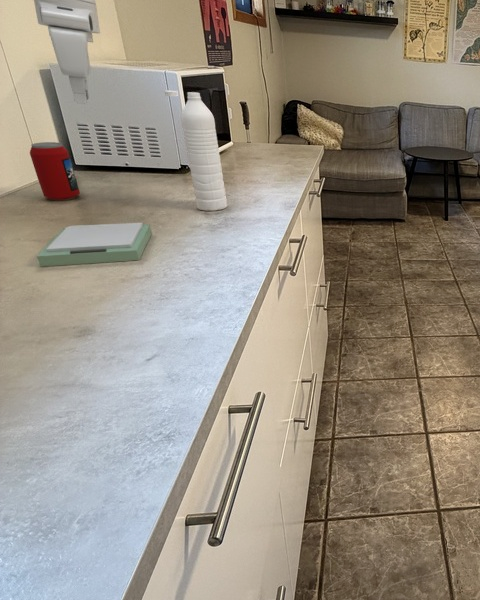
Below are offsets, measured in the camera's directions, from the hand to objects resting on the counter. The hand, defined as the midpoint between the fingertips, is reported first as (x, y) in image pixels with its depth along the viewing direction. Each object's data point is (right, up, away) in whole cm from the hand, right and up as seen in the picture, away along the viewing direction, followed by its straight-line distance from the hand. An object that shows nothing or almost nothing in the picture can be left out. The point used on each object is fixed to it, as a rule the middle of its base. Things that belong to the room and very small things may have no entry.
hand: (82, 101), depth 90 cm
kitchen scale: (+7, -29, -4) cm, 30 cm away
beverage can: (-20, -14, +20) cm, 32 cm away
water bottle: (+13, -16, +21) cm, 30 cm away
